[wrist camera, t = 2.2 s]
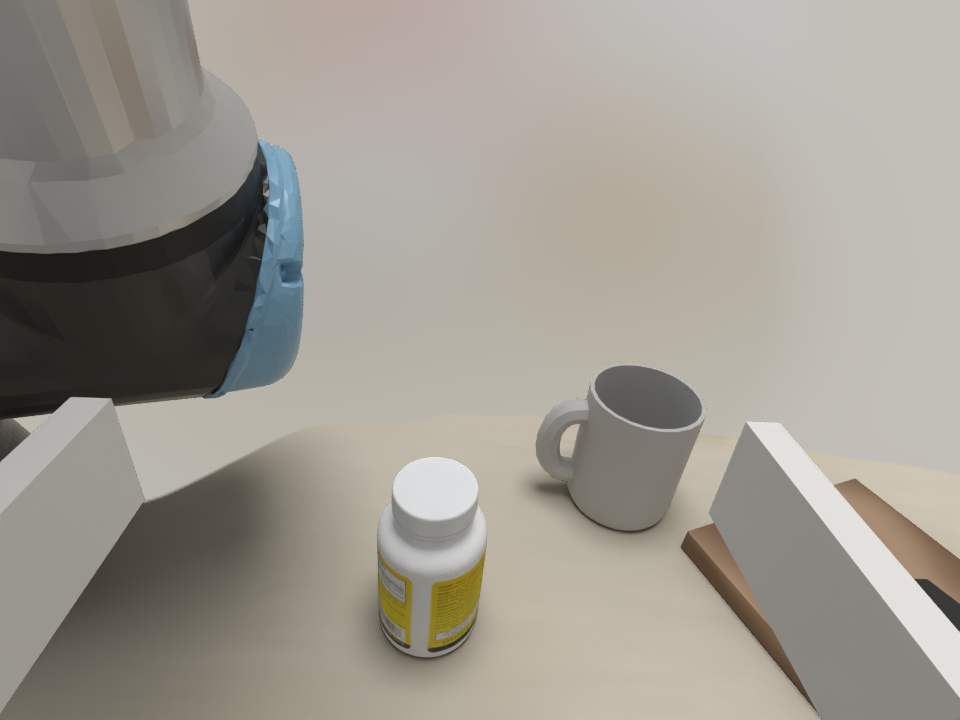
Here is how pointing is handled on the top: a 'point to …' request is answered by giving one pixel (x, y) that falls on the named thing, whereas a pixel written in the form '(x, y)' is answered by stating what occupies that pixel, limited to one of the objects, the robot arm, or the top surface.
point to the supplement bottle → (431, 557)
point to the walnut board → (887, 523)
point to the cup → (624, 444)
